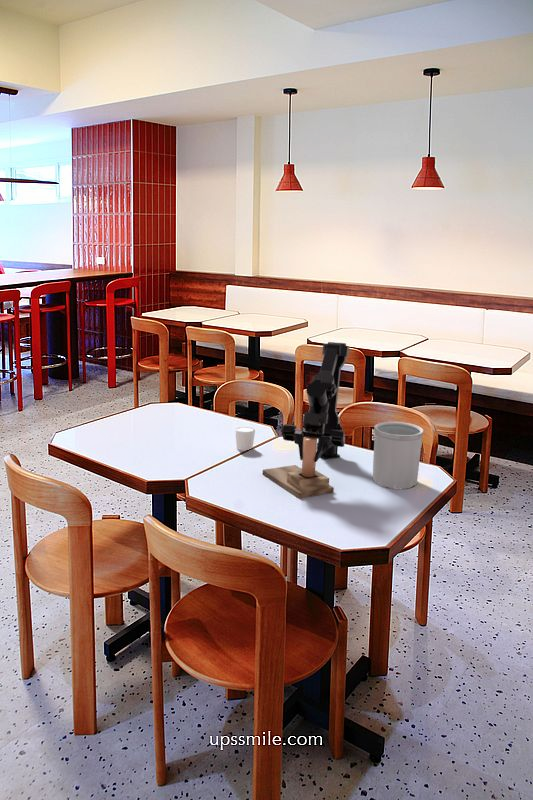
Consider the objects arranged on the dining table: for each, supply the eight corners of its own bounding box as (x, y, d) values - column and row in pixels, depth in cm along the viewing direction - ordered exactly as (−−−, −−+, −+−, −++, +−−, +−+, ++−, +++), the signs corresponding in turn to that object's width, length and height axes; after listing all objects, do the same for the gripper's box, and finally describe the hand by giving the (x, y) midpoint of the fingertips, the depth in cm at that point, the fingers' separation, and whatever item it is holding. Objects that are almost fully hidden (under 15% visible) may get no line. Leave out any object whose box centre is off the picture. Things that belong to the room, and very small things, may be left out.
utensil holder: (403, 494, 202) (408, 437, 198) (361, 481, 212) (365, 427, 207) (427, 482, 213) (432, 428, 209) (385, 470, 223) (390, 418, 218)
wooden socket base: (295, 469, 220) (295, 456, 219) (333, 492, 201) (334, 478, 200) (262, 474, 214) (263, 460, 213) (299, 498, 196) (299, 483, 195)
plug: (310, 471, 204) (312, 436, 202) (317, 475, 201) (319, 440, 198) (298, 473, 202) (300, 438, 200) (306, 477, 199) (308, 441, 196)
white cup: (231, 449, 238) (232, 430, 236) (239, 444, 244) (240, 425, 242) (249, 452, 235) (250, 433, 234) (257, 447, 241) (258, 428, 240)
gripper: (284, 398, 203) (273, 443, 195) (346, 404, 198) (337, 451, 190) (288, 417, 212) (278, 461, 204) (348, 423, 207) (340, 469, 199)
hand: (308, 460), depth 199 cm, fingers closed on plug, 4 cm apart
